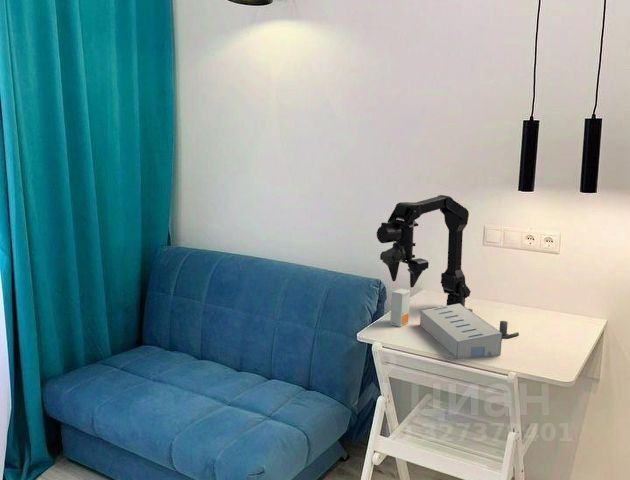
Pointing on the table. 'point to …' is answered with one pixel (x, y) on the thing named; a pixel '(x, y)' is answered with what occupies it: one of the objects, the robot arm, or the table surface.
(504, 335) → the cord posts
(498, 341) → the grey slotted box
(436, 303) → the table surface
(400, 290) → the skincare box
